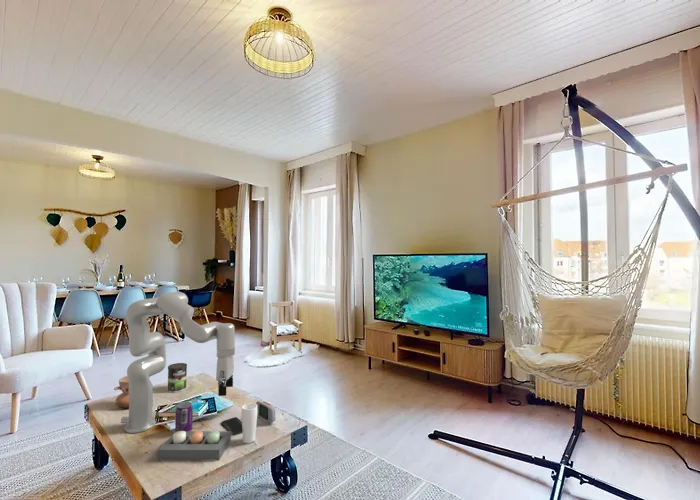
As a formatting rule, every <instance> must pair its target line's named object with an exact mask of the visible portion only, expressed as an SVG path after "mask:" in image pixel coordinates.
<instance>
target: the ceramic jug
mask: <svg viewBox="0 0 700 500" xmlns="http://www.w3.org/2000/svg"><path fill="white" fill-rule="evenodd" d="M118 384H119V386H115V387H114V388H113V390H114V391H117V390H119V391H121V392H122V393H120V394H119V395H118V396H117V397H116V398H115V405H116V406H118V407H119V408H129V381H128V376H127V375H124V376H122V377H120V378H119V379H118Z"/></svg>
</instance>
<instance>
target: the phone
mask: <svg viewBox="0 0 700 500" xmlns="http://www.w3.org/2000/svg"><path fill="white" fill-rule="evenodd" d="M220 423H221V425H222V427H223V428H225V430H226V431H231V435H232V436H237V435H240V434H243V432H242V420H240V419H239V418H238V417H237V416H235V417H232V418H231V417H230V418H228V419H225V420H222V421H221V422H220Z"/></svg>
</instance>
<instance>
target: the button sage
mask: <svg viewBox="0 0 700 500" xmlns="http://www.w3.org/2000/svg"><path fill="white" fill-rule="evenodd" d="M219 431H220V430H219ZM219 431H217V430H212V432H209V433H208V434H207V444H218V443H219V440H220V432H219Z"/></svg>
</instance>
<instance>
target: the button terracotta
mask: <svg viewBox="0 0 700 500" xmlns="http://www.w3.org/2000/svg"><path fill="white" fill-rule="evenodd" d="M202 441H203V432H202V431H201V430H195V432H193V433H191V434H190V444H201V443H202Z"/></svg>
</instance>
